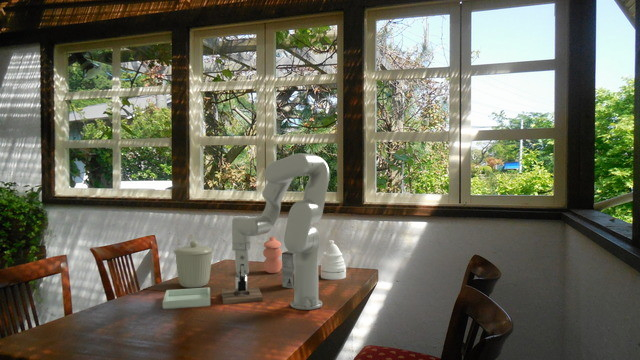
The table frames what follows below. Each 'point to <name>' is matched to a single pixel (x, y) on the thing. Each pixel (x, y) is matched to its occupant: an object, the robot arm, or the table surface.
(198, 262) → the canister
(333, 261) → the honey pot
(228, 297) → the wooden base board
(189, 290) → the tray
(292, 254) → the coffee box
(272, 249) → the ceramic vessels
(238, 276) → the lock pin
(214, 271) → the table surface
